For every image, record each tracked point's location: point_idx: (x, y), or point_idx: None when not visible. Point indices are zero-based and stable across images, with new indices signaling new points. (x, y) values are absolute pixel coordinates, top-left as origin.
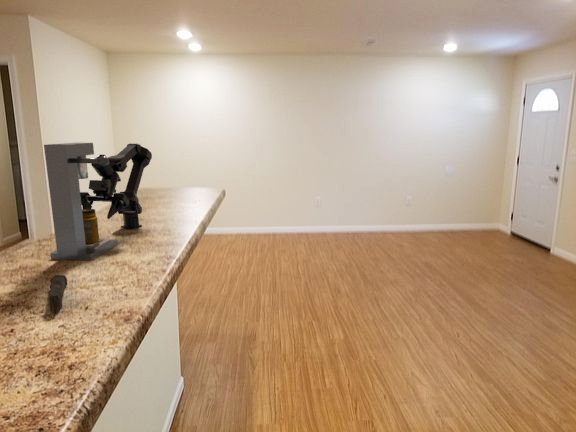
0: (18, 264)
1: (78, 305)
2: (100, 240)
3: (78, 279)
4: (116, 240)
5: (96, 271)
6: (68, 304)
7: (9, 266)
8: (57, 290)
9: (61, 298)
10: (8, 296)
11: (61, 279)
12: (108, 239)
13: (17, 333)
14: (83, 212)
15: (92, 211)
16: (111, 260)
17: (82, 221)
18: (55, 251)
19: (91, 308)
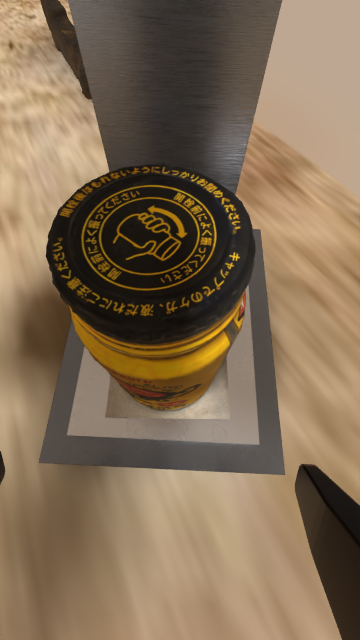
0: (319, 201)
1: (29, 50)
2: (120, 396)
3: (76, 125)
4: (42, 454)
5: (47, 164)
6: (48, 52)
7: (330, 187)
8: (50, 7)
9: (50, 28)
10: None
11: (76, 53)
12: (80, 426)
13: None
14: (154, 169)
15: (61, 208)
16: (25, 241)
17: (96, 103)
18: (257, 249)
19: (2, 44)
